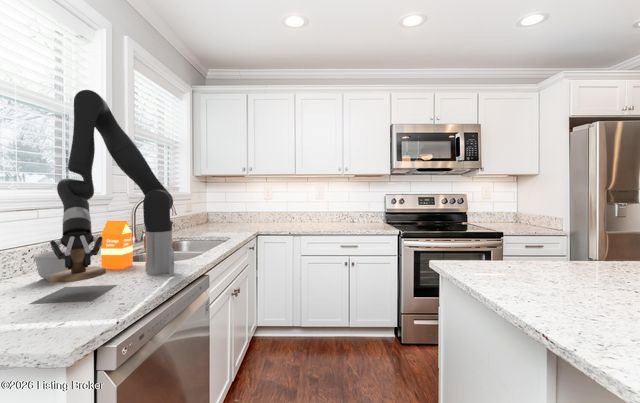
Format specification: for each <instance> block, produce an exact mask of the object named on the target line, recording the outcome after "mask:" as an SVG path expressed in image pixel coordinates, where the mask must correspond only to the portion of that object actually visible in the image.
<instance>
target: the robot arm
mask: <svg viewBox="0 0 640 403" xmlns="http://www.w3.org/2000/svg"><path fill="white" fill-rule="evenodd" d="M95 129H96V130H97V132H98V133H99V134H100V136H101V138H102V140H103V143H104V144H105V147H106V149H107V151H108V154H109V155H110V156H111V158H112V159H113V161H114V162H115V163H116V165H117V166H118V167H119V169H120V170H121V171H122V172H123V173H124V174H125V175H126V176H127V177H128V178H129V179H131V180H132V181H133V183H135V184H136V186H138V187H139V189H140V191H141V192H142V194H143V195H144V198H143V204H142V211H143V213H142V214H143V224H144V226H145V236H146V253H145V274H146V276H162V275H170V274H173V273H174V272H175V250H174V249H175V248H173V224H172V223H171V221H172V220H171V209H172V208H173V205H174V198H173V196H172V194H171V193H170V192H169V191H168V190H167V188H166V187H165V186H164V185H163V184H162V183H161V182H160V180H159V179H158V178H157V176H156V175H155V174H154V172H153V170H152V168H151V167H150V165H149V163H148V162H147V161H146V158H145V157H144V155H143V154H142V152H141V151H140V149H139V148H138V147H137V145H136V144H135V143H134V141H133V140H132V139H131V138H130V136H129V135H128V134H127V133H126V132H125V131H124V130H123V128H122V127H121V126H120V124H119V123H118V121H117V120H116V118H115V117H114V115H113V113H112V111H111V109H110V107H109V105H108V103H107V102H106V100H105V99H104V98H103V97H102V96H101V95H100V94H98V93H97V92H95V91H94V90H91V89H83V90H80V91H78V92H77V93H75V96H74V98H73V133H72V141H71V146H70V153H69V158H68V163H67V164H68V165H67V169H68V171H69V172H71V173H75V174H77V175H79V176H81V177H82V180H80V179H75V178H63V179H61V180H60V181H58V183H57V186H56V192H57V194H58V197H59V198H60V201H61V203H62V205H63V215H62V236H61V237H60V239H59V240H57V241H55V240H51V241H50V242H49V244H50V248H51V250H52V251H53V252H54V253H55V255H56V256H57V258H58V259H65V267H66V268H68V270H70V269H71V256H70V250H73V249H82V248H83V249H85V267H89V266H91V264H92V262H91V260H92V259H91V258H92V256H97V255H98V253H99V252H100V250H101V245H102V243H103V237H101V236H98V237H97V236H96V237H95V236H94V235H93V234H92V233H93V232H92V218H91V215H90V202H89V201H88V200H91V199H92V198H93V196H94V193H95V186H94V181H93V180H94V179H93V164H94V160H95V153H96V152H95V150H96V149H95V148H96V147H95ZM92 243H93V244H94V246H93V248H92V249H90V248H89V246H90V244H92ZM61 245H62V246H64V247H65V248H66V249H65V251H66V252H65V253H62V252H61V251H62V250H61V249H60V247H61Z"/></svg>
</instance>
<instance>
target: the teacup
mask: <svg viewBox="0 0 640 403" xmlns="http://www.w3.org/2000/svg"><path fill="white" fill-rule="evenodd" d="M61 252H62V253H65V252H66V250H61ZM32 257H33V258H34V259H35V262H36V268H37V269H36V270H37V273H38V275H39V277H40V278H41V279H43V280H45V281H49V276H50V275H51V274H53V273H56V272H60V271H64V270H68V268H66V267H65V259H58V258H57V256H56V255H55V253H54V252H53V250H52V251H44V252H39V253H35V254H33V255H32Z"/></svg>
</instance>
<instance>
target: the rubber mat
mask: <svg viewBox="0 0 640 403" xmlns="http://www.w3.org/2000/svg"><path fill="white" fill-rule="evenodd" d="M117 286H118V284H107V285H106V284H105V285H103V284H102V285H82V286H81V285H78V286H76V285H75V286H64V287H63V288H60V289H57V290H56V291H55V290H54V292H51V293H50V294H47V295H45V296H43V297H40V298H38V299H36V300H34V301H32V302H30V303H29V305H40V304H60V303H62V304H64V303H86V302H87V303H88V302H93V301H95V300H97V299H98V298H99V297H101V296H103V295H104V294H106V293H107V292H109V291H112V289H114V288H115V287H117Z"/></svg>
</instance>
